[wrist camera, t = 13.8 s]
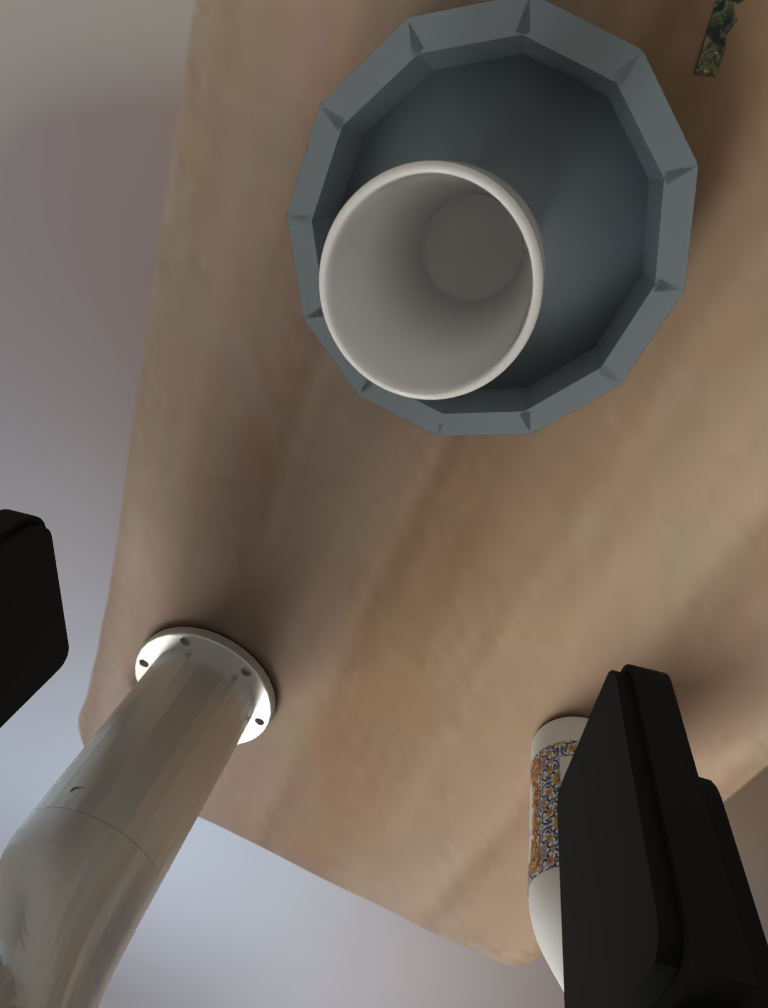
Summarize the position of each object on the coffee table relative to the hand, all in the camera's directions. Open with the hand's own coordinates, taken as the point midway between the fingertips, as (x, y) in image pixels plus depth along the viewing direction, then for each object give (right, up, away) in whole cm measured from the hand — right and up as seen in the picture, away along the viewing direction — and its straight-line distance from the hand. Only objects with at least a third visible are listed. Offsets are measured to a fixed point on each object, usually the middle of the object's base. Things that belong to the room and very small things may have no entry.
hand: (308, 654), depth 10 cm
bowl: (+7, +16, +21) cm, 27 cm away
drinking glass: (+6, +16, +21) cm, 26 cm away
